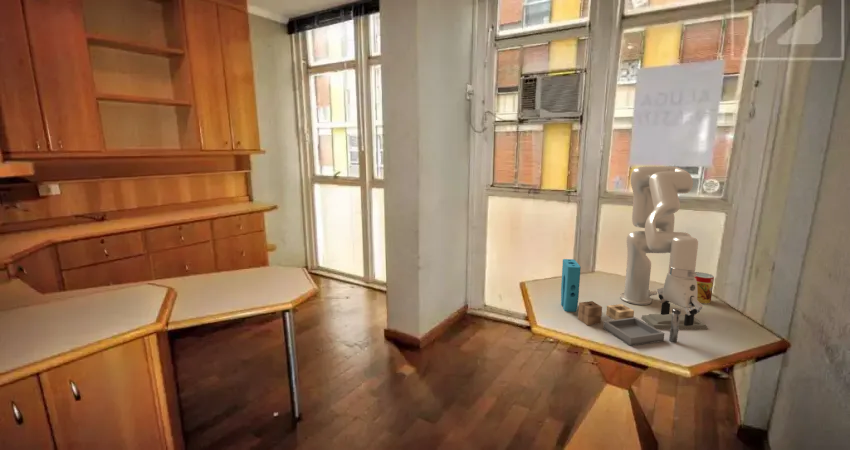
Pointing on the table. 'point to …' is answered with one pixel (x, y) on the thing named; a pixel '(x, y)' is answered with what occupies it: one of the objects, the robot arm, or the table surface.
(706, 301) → the canned food
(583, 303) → the walnut block
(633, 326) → the tray
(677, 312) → the gauge pin
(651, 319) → the soap mold
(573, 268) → the block
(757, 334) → the table surface
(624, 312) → the oak block
